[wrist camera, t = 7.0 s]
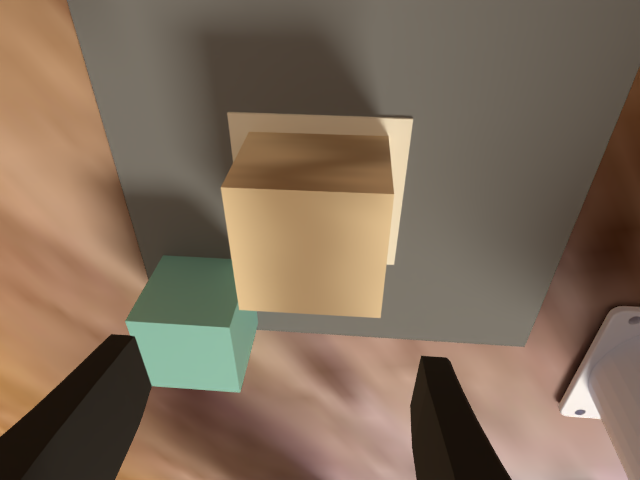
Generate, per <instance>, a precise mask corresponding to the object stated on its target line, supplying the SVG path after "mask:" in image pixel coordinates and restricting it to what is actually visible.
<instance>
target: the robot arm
mask: <svg viewBox="0 0 640 480" xmlns="http://www.w3.org/2000/svg"><path fill="white" fill-rule="evenodd" d="M151 386H152V385H151V382H150V379H149V376H148V373H147V370H146V368H145V365H144V362H143V359H142V356H141V353H140V350H139V347H138V344H137V341H136V338H135V336H128V335H113V334H111V335H110V336H109V337H108V338H107V339H106V340H105V341H104V342H103V343H102V344H101V345H99V346H98V347H97V348H96V349H95V350H94V351H93V352H92V353H91V354H90V355H89V356H88V357H87V358H86V359H85V360H84V361H83V362H82V363H81V364H80V365H79V366H78V367H77V368H76V369H75V370H74V371H73V372H71V373H70V374H69V375H68V376H67V377H66V378H65V379H64V380H63V381H62V382H61V383H60V384H59V385H58V386H57V387H56V388H55V389H53V390H52V391H51V392H50V393H49V394H48V395H47V396H46V397H45V398H44V399H43V400H42V401H41V402H39V403H38V404H37V405H36V406H35V407H34V408H33V409H32V410H31V411H30V412H29V413H27V414H26V415H25V416H24V417H23V418H22V419H21V420H19V421H18V422H17V423H16V424H15V425H14V426H12V427H11V428H10V429H9V430H8V431H7V432H5V433H4V434H3V435H2V436H1V437H0V480H115V478H116V476H117V474H118V472H119V470H120V467H121V465H122V463H123V461H124V459H125V456H126V454H127V452H128V450H129V447H130V445H131V443H132V441H133V438H134V436H135V434H136V432H137V429H138V427H139V425H140V422H141V418H142V415H143V412H144V409H145V406H146V403H147V400H148V396H149V393H150V390H151ZM410 408H411V433H412V449H413V457H414V464H415V471H416V477H417V480H512V479H511V478H510V476H509V475H508V473H507V471H506V470H505V468H504V466H503V465H502V463H501V461H500V460H499V458H498V456H497V454H496V453H495V451H494V449H493V447H492V446H491V444H490V442H489V440H488V438H487V436H486V435H485V433H484V431H483V429H482V427H481V426H480V424H479V422H478V420H477V418H476V416H475V414H474V412H473V410H472V408H471V406H470V404H469V402H468V400H467V398H466V396H465V394H464V392H463V390H462V388H461V385H460V383H459V381H458V379H457V376H456V374H455V372H454V370H453V367H452V365H451V362H450V361H449V360H448V359H447V358H444V357H429V356H421V359H420V364H419V368H418V373H417V377H416V382H415V387H414V391H413V396H412V400H411V405H410ZM558 408H559V411H560V413H561V414H562V415H564V416H568V417H582V418H596V419H601V420H602V422H603V424H604V426H605V429H606V431H607V433H608V435H609V437H610V440H611V442H612V444H613V446H614V448H615V451H616V453H617V455H618V457H619V459H620V462H621V464H622V466H623V468H624V470H625V473H626V475H627V477H628V479H629V480H640V307H632V306H618V307H615V308H613V309H612V310H610V312H609V313H608V314H607V316H606V318H605V320H604V322H603V324H602V326H601V327H600V329H599V331H598V333H597V335H596V337H595V338H594V340H593V342H592V344H591V346H590V348H589V350H588V351H587V353H586V355H585V357H584V359H583V361H582V363H581V364H580V366H579V368H578V370H577V372H576V374H575V376H574V377H573V379H572V381H571V383H570V385H569V387H568V389H567V390H566V392H565V394H564V396H563V398H562V400H561V402H560V403H559V405H558Z"/></svg>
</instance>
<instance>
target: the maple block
mask: <svg viewBox="0 0 640 480" xmlns="http://www.w3.org/2000/svg"><path fill="white" fill-rule="evenodd" d="M221 193H222V199H223V206H224V212H225V219H226V226H227V232H228V239H229V246H230V252H231V259H232V266H233V272H234V279H235V285H236V292H237V299H238V305H239V310H248V311H266V312H283V313H301V314H318V315H335V316H353V317H370V318H381V309H382V300H383V291H384V282H385V273H386V264H387V255H388V246H389V237H390V228H391V219H392V210H393V201H394V187H393V176H392V166H391V156H390V146H389V136H368V135H336V134H304V133H273V132H249V133H248V135H247V137H246V139H245V141H244V143H243V145H242V146H241V148H240V150H239V152H238V154H237V156H236V158H235V160H234V162H233V164H232V166H231V168H230V170H229V172H228V174H227V176H226V178H225V180H224V182H223V184H222V186H221Z"/></svg>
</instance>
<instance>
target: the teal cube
mask: <svg viewBox="0 0 640 480" xmlns="http://www.w3.org/2000/svg"><path fill="white" fill-rule="evenodd" d="M125 322H126V325H127V327H128V330H129V333H130V336H135V338H136V341H137V344H138V347H139V350H140V353H141V356H142V359H143V362H144V365H145V368H146V370H147V373H148V376H149V379H150V382H151V385H152V386H157V387H171V388H184V389H198V390H212V391H225V392H239V393H240V392H241V388H242V384H243V380H244V376H245V372H246V368H247V364H248V360H249V357H250V353H251V349H252V345H253V341H254V337H255V333H256V329H257V325H258V318H257V311H248V310H239V305H238V299H237V292H236V285H235V279H234V272H233V266H232V259H222V258H203V257H185V256H167V255H163V256H162V258H161V260H160V261H159V263H158V265H157V267H156V268H155V270H154V272H153V274H152V275H151V277H150V279H149V281H148V282H147V284H146V286H145V287H144V289H143V291H142V293H141V294H140V296H139V298H138V300H137V301H136V303H135V305H134V307H133V308H132V310H131V312H130V314H129V315H128V317H127V319H126V321H125Z"/></svg>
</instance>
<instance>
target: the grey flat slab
mask: <svg viewBox="0 0 640 480" xmlns="http://www.w3.org/2000/svg"><path fill="white" fill-rule="evenodd" d="M67 2H68V6H69V9H70V13H71V16H72V19H73V23H74V26H75V30H76V33H77V36H78V40H79V43H80V47H81V50H82V53H83V57H84V60H85V64H86V67H87V71H88V74H89V77H90V81H91V84H92V88H93V91H94V94H95V98H96V101H97V105H98V108H99V112H100V115H101V118H102V122H103V125H104V129H105V132H106V135H107V139H108V142H109V146H110V149H111V153H112V156H113V159H114V163H115V166H116V170H117V173H118V176H119V180H120V183H121V187H122V190H123V193H124V197H125V200H126V204H127V207H128V211H129V214H130V217H131V221H132V224H133V228H134V231H135V234H136V238H137V241H138V245H139V248H140V252H141V255H142V258H143V262H144V265H145V269H146V272H147V275H148V279H150V277H151V275H152V274H153V272H154V270H155V268H156V267H157V265H158V263H159V261H160V260H161V258H162V256H163V255H167V256H185V257H203V258H222V259H231V252H230V246H229V239H228V232H227V226H226V219H225V212H224V206H223V199H222V193H221V186H222V184H223V182H224V180H225V178H226V176H227V174H228V172H229V170H230V168H231V166H232V164H233V162H234V160H235V158H236V156H237V154H238V152H239V150H240V148H241V146H242V145H243V143H244V141H245V139H246V137H247V135H248V133H249V132H273V133H304V134H336V135H368V136H389V146H390V156H391V166H392V176H393V187H394V201H393V210H392V219H391V228H390V237H389V246H388V255H387V264H386V273H385V282H384V291H383V300H382V309H381V318H370V317H353V316H335V315H318V314H301V313H283V312H266V311H257V318H258V325H257V329H256V330H269V331H285V332H301V333H316V334H332V335H347V336H363V337H379V338H394V339H410V340H425V341H441V342H457V343H472V344H488V345H503V346H519V347H525V344H526V342H527V340H528V337H529V335H530V332H531V330H532V327H533V325H534V323H535V320H536V318H537V315H538V313H539V310H540V308H541V305H542V303H543V301H544V298H545V296H546V293H547V291H548V288H549V286H550V284H551V281H552V279H553V276H554V274H555V271H556V269H557V266H558V264H559V262H560V259H561V257H562V254H563V252H564V249H565V247H566V245H567V242H568V240H569V237H570V235H571V232H572V230H573V227H574V225H575V223H576V220H577V218H578V215H579V213H580V210H581V208H582V206H583V203H584V201H585V198H586V196H587V193H588V191H589V188H590V186H591V184H592V181H593V179H594V176H595V174H596V171H597V169H598V167H599V164H600V162H601V159H602V157H603V154H604V152H605V149H606V147H607V145H608V142H609V140H610V137H611V135H612V132H613V130H614V127H615V125H616V123H617V120H618V118H619V115H620V113H621V110H622V108H623V106H624V103H625V101H626V98H627V96H628V93H629V91H630V88H631V86H632V84H633V81H634V79H635V76H636V74H637V71H638V69H639V67H640V0H67Z"/></svg>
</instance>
